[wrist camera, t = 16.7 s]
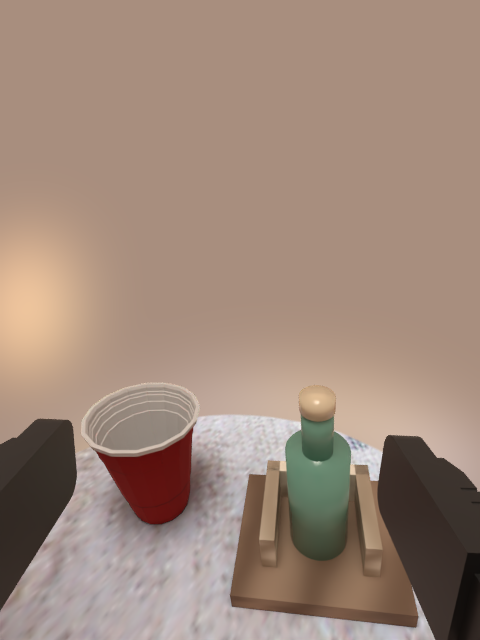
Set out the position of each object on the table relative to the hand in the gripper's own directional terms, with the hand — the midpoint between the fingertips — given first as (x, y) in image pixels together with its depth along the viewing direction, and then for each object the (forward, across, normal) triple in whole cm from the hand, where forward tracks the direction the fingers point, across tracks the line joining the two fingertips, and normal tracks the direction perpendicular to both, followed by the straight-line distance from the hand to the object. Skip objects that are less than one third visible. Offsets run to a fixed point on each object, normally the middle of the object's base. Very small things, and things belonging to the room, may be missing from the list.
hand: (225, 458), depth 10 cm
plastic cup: (+26, +8, +24) cm, 36 cm away
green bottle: (+20, -8, +21) cm, 30 cm away
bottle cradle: (+20, -8, +23) cm, 31 cm away
